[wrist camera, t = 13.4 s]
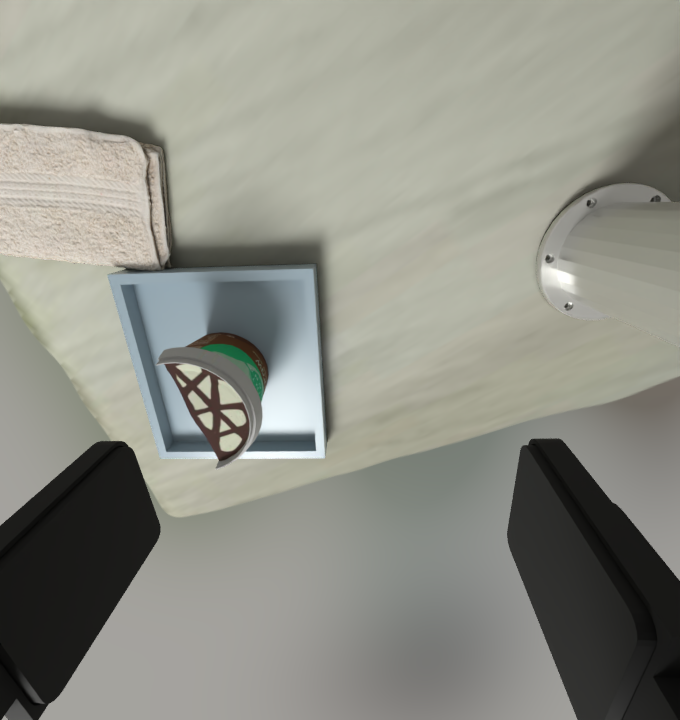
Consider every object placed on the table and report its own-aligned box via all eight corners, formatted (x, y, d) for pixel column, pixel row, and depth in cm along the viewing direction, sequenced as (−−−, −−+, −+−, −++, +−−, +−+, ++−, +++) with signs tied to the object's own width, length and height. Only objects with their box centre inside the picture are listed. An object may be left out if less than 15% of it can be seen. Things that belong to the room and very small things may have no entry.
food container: (295, 403, 42) (278, 458, 33) (247, 416, 43) (218, 474, 34) (252, 304, 38) (219, 337, 28) (200, 322, 39) (151, 359, 29)
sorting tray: (316, 263, 37) (313, 268, 34) (327, 442, 45) (325, 458, 43) (125, 269, 38) (107, 274, 35) (171, 443, 46) (160, 458, 44)
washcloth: (181, 269, 38) (167, 275, 35) (12, 256, 38) (-16, 260, 35) (168, 138, 33) (151, 132, 30) (-25, 123, 33) (-61, 116, 31)
